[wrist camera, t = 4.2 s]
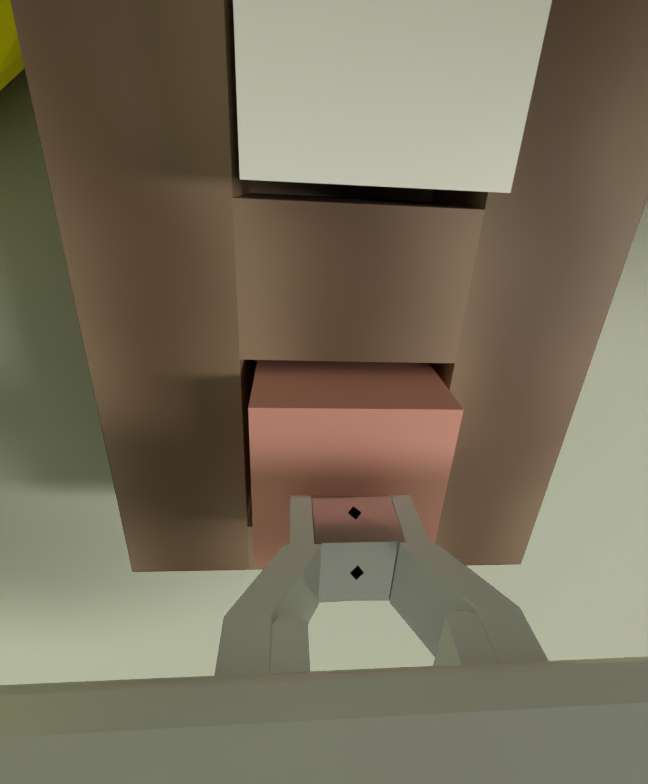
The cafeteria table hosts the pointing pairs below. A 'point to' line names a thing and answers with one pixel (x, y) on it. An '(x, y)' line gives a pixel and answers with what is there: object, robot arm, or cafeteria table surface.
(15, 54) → the spray bottle
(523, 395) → the key panel
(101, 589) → the cafeteria table surface
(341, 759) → the robot arm
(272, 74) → the white key
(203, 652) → the cafeteria table surface
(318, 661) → the cafeteria table surface
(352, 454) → the brick key
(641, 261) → the cafeteria table surface
